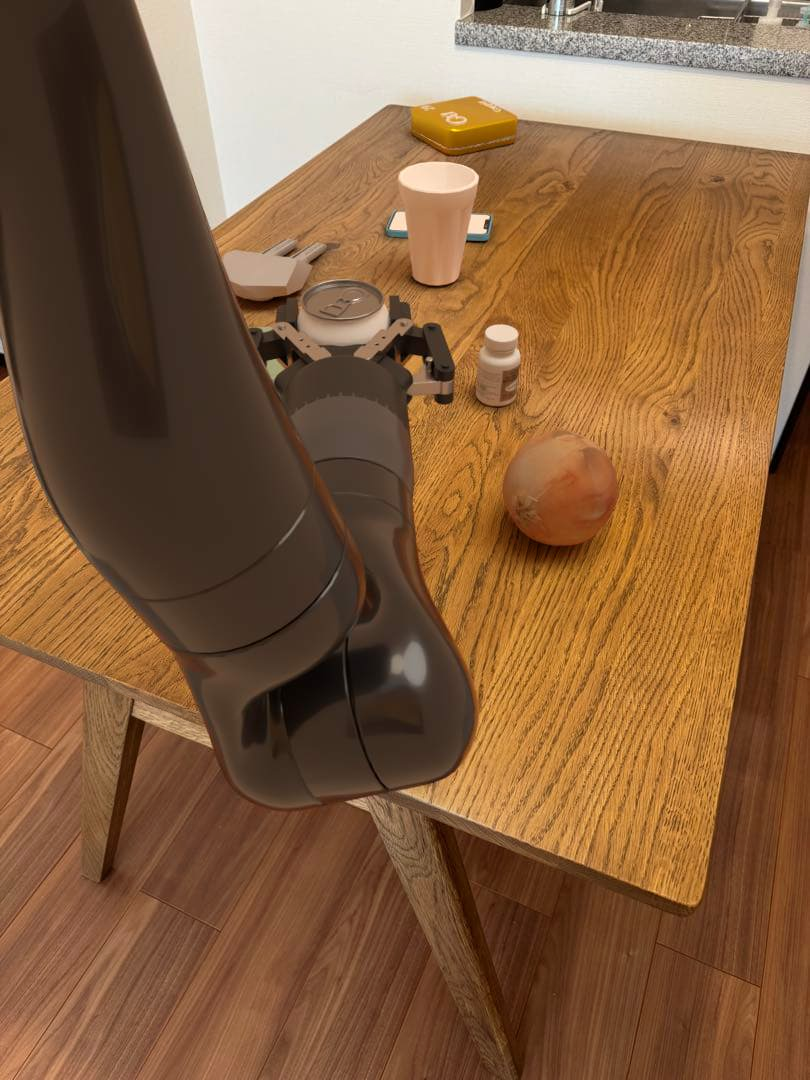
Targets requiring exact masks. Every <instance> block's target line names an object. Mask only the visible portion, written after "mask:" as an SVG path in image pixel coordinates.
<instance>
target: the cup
mask: <svg viewBox="0 0 810 1080" xmlns="http://www.w3.org/2000/svg"><path fill="white" fill-rule="evenodd" d="M479 180H480V176H479V174H478V173H477V172H476V171H475V170H474V169H473V168H471V167H468V166H466V165H463V164H460V163H454V162H450V161H428V162H427V161H426V162H418V163H416V164H413V165H409V166H407V167H406V168H404V169H402V170H401V171H400V172H399V173H398V177H397V184H398V192H399V193H398V194H399V195H400V199H401V200H402V202H403V208H404V209H403V211H405V217H406V225H407V233H408V238H407V239H408V240H407V241H408V246H409V248H408V249H409V254H410V255H409V256H410V261H411V262H410V263H411V270H412V271H411V272H412V274H411V276H412V277H413V279H414V280H415V281H417V282H419V283H421V284H424V285H428V286H443V285H444V286H445V285H449V284H451V283H454V282H456V281H457V280H458V279H459V277H460V272H461V266H462V262H463V257H464V251H465V247H466V241H467V240H466V237H467V233H468V228H469V223H470V218H471V213H473V207H474V202H475V199H476V197H477V193H478V187H479Z"/></svg>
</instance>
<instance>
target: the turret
mask: <svg viewBox="0 0 810 1080" xmlns="http://www.w3.org/2000/svg"><path fill="white" fill-rule="evenodd" d="M298 244H299V241H298V240H297V239H293V238H283V239H282V240H280V241H277V242H276V243H275V244H273V245H271V246H270V247H268V248H266V249H264V250H262V251H260V252H252V251H245V250H240V249H233V250H231V251H229V252H225V253H224V256H223V258H222V261H223V264H224V267H225V269H226V272H227V275H228V277H229V280H230V282H231V285H232V288H233V290H234V293H235V296H236V297H240V298H242V299H245V300H250V301H256V302H265V301H269V300H272V299H273V298H277V297H283V296H284V297H285V296H288V295H291V294H293V293H296V292H298V291H300V290H302V289H303V287H304V285H305V283H306V282H307V279H308V278H309V275H310V273H311V271H312V269H313V267H314V265H312V264H310V262H311V261H313V260H315V259H316V258H318V257H319V256H320V255H321V254H323V253H324V252H326V249H327V244H324V243H321V242H316V241H314V242H312V243H310V244H308V245H307V246H305V247H304V248H302V249H301V250H299V251H297V252H296V253H294V254H292V255H290V256H285V255H286V254H288V253H290V252H291V251H293V250H294V249H295V248H297V247H298Z"/></svg>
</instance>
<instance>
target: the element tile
mask: <svg viewBox="0 0 810 1080" xmlns="http://www.w3.org/2000/svg"><path fill="white" fill-rule="evenodd" d="M410 118H411V119H410V132H411V135H412V136H413V137H415V138H417V139H419V140H421V141H422V142H423V143H425V144H427V145H429V146H431V147H432V148H434V149H436V150H438V151H439V152H441V153H442V154H445V155H446V156H451V157H453V156H455V157H457V156H463V155H466V154H471V153H478V152H481V151H486V150H490V149H495V148H500V147H504V146H509V145H512V144H514V143H515V142H516V139H517V136H516V137H515V138H513V139H509V140H505V141H500V142H495V143H491V144H486V145H481V146H477V147H472V148H467V149H462V150H447V149H444V148H442V147H441V146H439V145H437V144H435V143H434V142H432V141H430V140H428V139H427V138H429V139H431V140H433V141H435V142H437V143H439V144H441V145H442V146H444V147H447V148H453V149H454V148H462V147H467V146H471V145H477V144H481V143H485V142H489V141H493V140H497V139H501V138H504V137H508V136H512V135H515V134H516V135H517V130H518V120H519V117H518V116H517V115H516V114H514V113H513V112H511V111H508V110H506V109H504V108H502V107H500V106H498V105H496V104H493V103H492V102H489V101H487V100H486V99H483V98H481V97H478V96H476V95H471V96H465V97H460V98H454V99H448V100H443V101H439V102H433V103H427V104H423V105H417V106H413V107H412V108H411V111H410ZM411 128H412V129H411ZM413 130H414V131H416V132H417V133H416V132H414V131H413ZM418 133H419V134H418ZM420 134H422V135H424V136H425V137H427V138H425V137H423V136H421V135H420Z"/></svg>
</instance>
